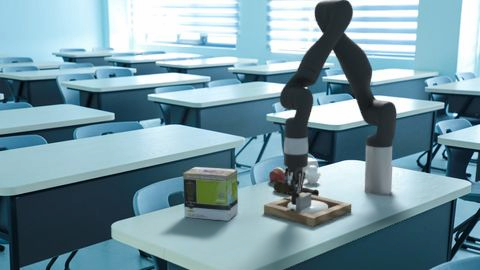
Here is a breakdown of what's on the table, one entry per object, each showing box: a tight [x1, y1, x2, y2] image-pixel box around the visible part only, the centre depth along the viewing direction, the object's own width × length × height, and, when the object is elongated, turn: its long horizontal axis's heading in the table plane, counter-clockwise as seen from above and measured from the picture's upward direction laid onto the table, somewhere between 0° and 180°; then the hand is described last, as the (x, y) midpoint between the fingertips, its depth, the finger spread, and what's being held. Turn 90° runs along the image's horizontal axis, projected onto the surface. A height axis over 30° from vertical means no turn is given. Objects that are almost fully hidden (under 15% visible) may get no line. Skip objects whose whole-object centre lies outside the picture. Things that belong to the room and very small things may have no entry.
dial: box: [288, 193, 328, 214], centre depth 198 cm, size 13×13×6 cm
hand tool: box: [273, 180, 320, 196], centre depth 219 cm, size 19×4×5 cm, turn 45°
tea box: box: [182, 166, 239, 222], centre depth 196 cm, size 15×10×15 cm
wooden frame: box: [263, 193, 352, 228], centre depth 199 cm, size 20×20×3 cm
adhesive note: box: [303, 157, 319, 172], centre depth 249 cm, size 6×6×6 cm
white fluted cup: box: [305, 165, 322, 185], centre depth 235 cm, size 6×6×7 cm
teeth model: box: [269, 166, 289, 183], centre depth 238 cm, size 8×6×12 cm
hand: (295, 204), depth 196 cm, fingers closed
